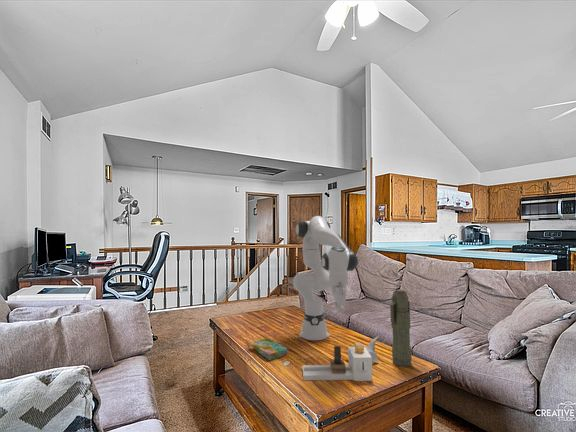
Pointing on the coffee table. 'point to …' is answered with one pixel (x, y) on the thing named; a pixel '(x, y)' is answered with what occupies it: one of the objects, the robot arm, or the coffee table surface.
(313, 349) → the coffee table surface
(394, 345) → the thermos
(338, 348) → the carriage
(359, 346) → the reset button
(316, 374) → the rail base
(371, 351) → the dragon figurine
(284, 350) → the puzzle game
